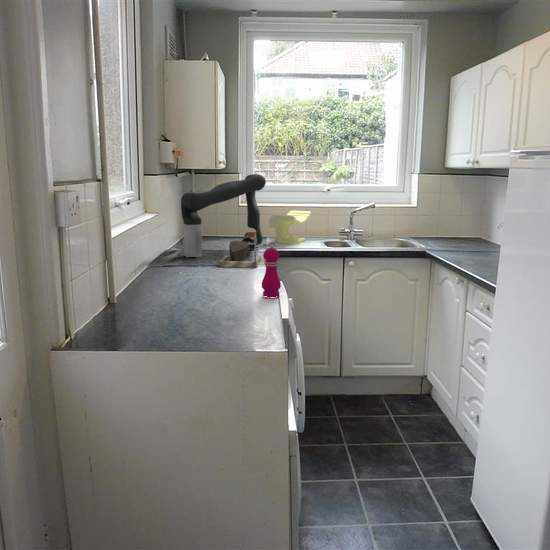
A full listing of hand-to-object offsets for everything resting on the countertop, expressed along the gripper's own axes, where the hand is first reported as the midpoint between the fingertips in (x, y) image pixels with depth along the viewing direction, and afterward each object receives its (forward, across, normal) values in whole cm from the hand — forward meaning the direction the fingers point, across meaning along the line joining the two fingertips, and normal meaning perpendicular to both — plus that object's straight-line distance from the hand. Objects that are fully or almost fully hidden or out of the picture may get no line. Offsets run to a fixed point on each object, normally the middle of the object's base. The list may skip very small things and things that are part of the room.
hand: (244, 248), depth 261 cm
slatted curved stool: (-63, +19, +6) cm, 67 cm away
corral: (+7, 0, +6) cm, 10 cm away
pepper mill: (+67, +21, +7) cm, 70 cm away
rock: (+4, -3, +6) cm, 8 cm away
